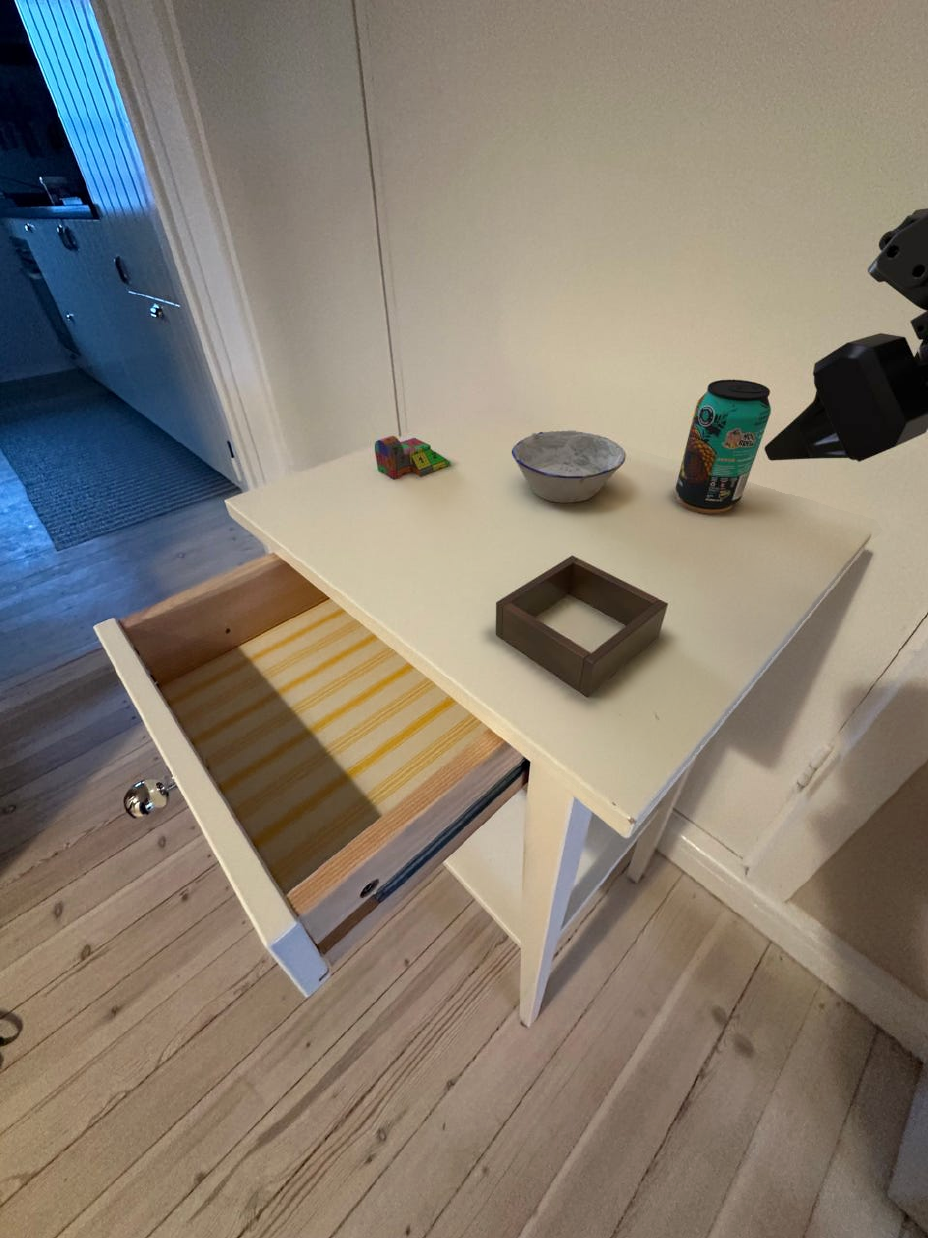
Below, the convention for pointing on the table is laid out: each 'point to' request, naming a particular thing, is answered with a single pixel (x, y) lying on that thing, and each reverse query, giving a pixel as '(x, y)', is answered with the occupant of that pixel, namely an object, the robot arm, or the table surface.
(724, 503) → the beverage can
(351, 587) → the table surface
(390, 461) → the numbered block arch
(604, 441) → the bowl
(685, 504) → the coaster
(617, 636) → the tray
